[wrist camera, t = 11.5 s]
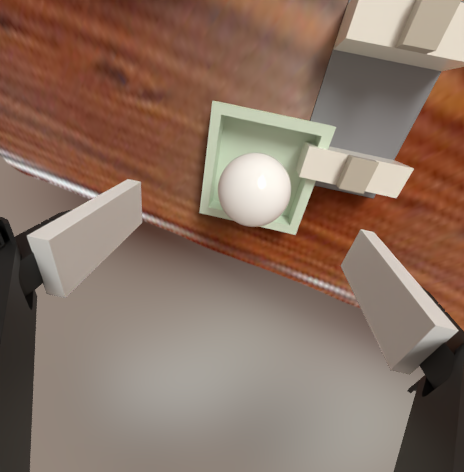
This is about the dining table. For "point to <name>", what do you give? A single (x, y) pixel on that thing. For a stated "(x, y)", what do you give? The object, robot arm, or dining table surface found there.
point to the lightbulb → (254, 189)
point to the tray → (263, 141)
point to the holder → (380, 90)
